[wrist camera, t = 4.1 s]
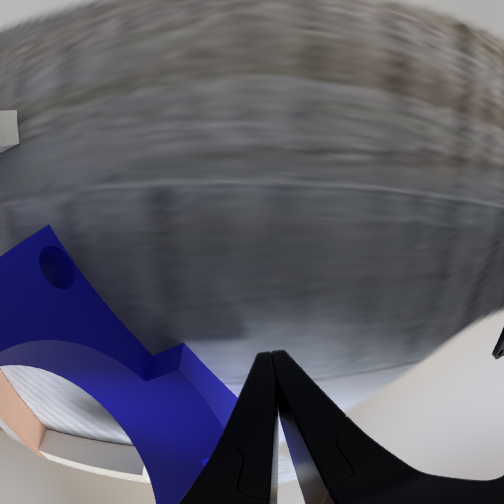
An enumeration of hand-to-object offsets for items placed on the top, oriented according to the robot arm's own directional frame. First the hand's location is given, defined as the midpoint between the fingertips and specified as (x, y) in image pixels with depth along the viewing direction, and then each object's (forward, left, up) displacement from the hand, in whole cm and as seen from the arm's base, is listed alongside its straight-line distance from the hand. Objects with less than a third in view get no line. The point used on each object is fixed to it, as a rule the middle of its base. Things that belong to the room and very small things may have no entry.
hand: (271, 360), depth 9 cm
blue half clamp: (+5, +1, -2) cm, 5 cm away
